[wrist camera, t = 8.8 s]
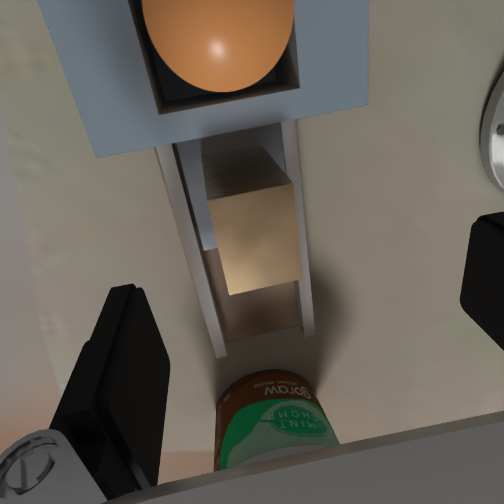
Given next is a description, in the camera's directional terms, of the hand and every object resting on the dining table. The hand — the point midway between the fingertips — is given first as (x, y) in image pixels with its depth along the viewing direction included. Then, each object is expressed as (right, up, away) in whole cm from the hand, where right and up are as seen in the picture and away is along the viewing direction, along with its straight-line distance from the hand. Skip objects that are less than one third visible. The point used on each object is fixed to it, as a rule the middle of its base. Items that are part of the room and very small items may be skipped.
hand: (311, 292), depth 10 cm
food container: (0, -11, +23) cm, 25 cm away
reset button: (-3, +10, +3) cm, 11 cm away
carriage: (-3, +6, +11) cm, 13 cm away
